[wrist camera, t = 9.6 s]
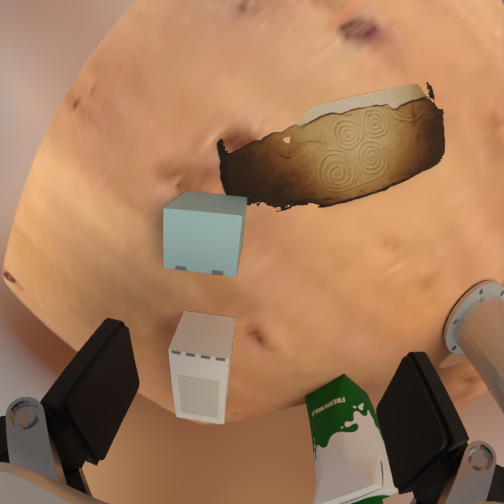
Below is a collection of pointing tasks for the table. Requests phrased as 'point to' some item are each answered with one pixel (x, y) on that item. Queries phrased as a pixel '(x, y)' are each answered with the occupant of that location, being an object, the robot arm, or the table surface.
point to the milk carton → (347, 446)
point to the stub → (204, 233)
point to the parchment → (340, 151)
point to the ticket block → (201, 366)
